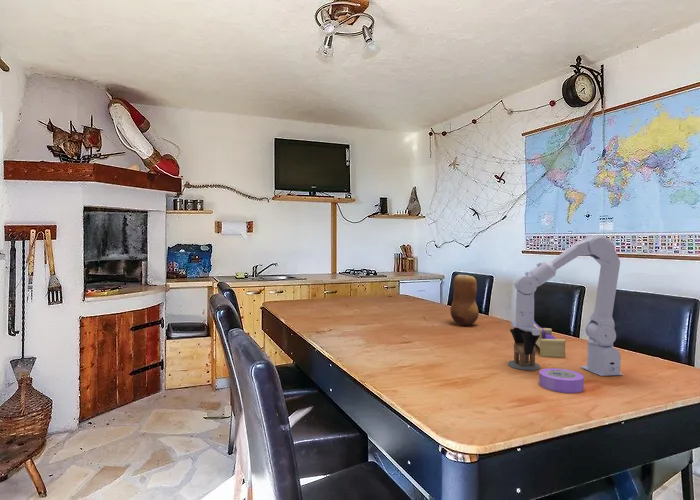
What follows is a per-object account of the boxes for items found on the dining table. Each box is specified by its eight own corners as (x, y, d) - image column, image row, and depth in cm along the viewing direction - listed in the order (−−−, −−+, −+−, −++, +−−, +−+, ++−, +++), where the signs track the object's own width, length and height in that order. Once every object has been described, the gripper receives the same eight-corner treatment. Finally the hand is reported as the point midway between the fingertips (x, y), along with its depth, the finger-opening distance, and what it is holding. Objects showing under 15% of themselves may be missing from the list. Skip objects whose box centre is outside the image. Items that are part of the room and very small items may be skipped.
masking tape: (532, 386, 129) (532, 373, 129) (548, 377, 137) (548, 365, 137) (575, 396, 121) (575, 383, 120) (589, 387, 129) (589, 374, 129)
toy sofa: (566, 358, 159) (566, 330, 159) (540, 357, 161) (541, 329, 161) (551, 344, 180) (551, 320, 180) (528, 343, 181) (529, 319, 181)
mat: (546, 369, 144) (546, 368, 144) (517, 371, 143) (517, 369, 143) (529, 361, 154) (529, 359, 154) (502, 362, 153) (502, 360, 153)
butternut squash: (481, 324, 221) (482, 274, 220) (473, 328, 210) (474, 276, 209) (454, 321, 228) (455, 273, 228) (445, 325, 217) (446, 274, 216)
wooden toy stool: (535, 366, 146) (535, 346, 146) (521, 366, 146) (521, 347, 145) (527, 361, 151) (527, 343, 151) (513, 362, 151) (513, 343, 150)
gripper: (503, 308, 155) (502, 347, 155) (525, 315, 140) (524, 358, 141) (521, 308, 156) (520, 346, 156) (546, 315, 141) (545, 357, 142)
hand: (524, 352), depth 148 cm, fingers closed on wooden toy stool, 5 cm apart
